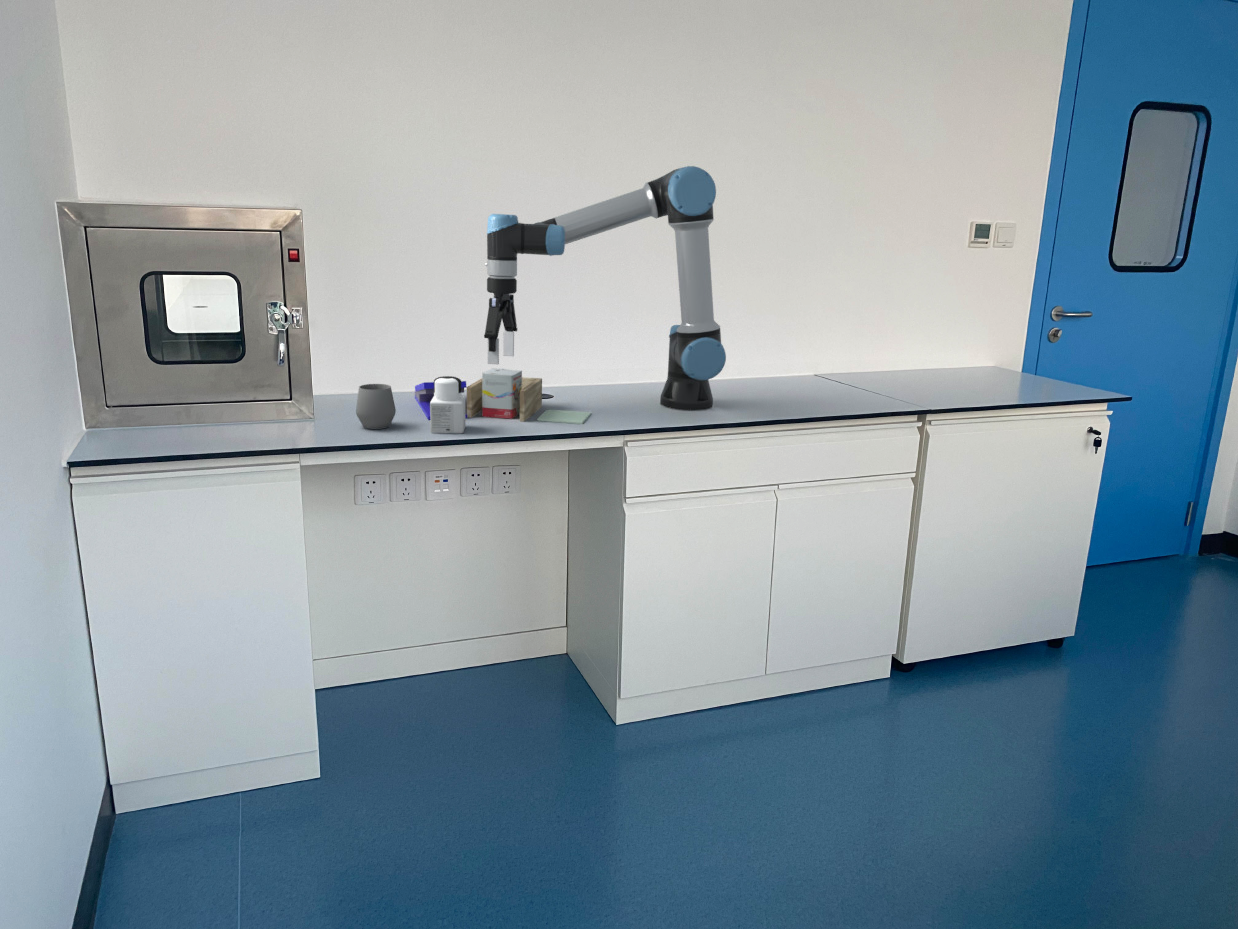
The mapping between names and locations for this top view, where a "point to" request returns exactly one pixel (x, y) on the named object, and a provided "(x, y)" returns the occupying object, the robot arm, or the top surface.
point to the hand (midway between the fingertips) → (501, 360)
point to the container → (447, 406)
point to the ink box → (501, 393)
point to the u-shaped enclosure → (528, 397)
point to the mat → (564, 416)
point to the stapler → (429, 396)
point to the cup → (375, 406)
